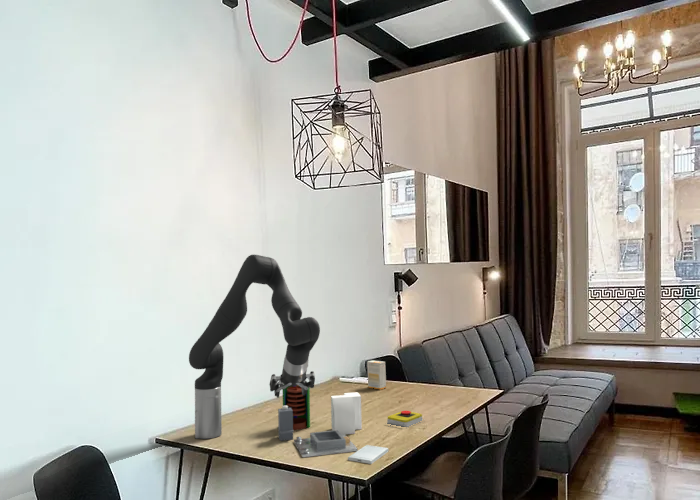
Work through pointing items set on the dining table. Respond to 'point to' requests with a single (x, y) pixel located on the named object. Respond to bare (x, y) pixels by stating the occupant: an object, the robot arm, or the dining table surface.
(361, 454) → the hard drive
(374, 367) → the supplement box
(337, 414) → the corner bracket
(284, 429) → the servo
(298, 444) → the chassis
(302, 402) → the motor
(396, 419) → the emergency button
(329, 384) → the dining table surface
